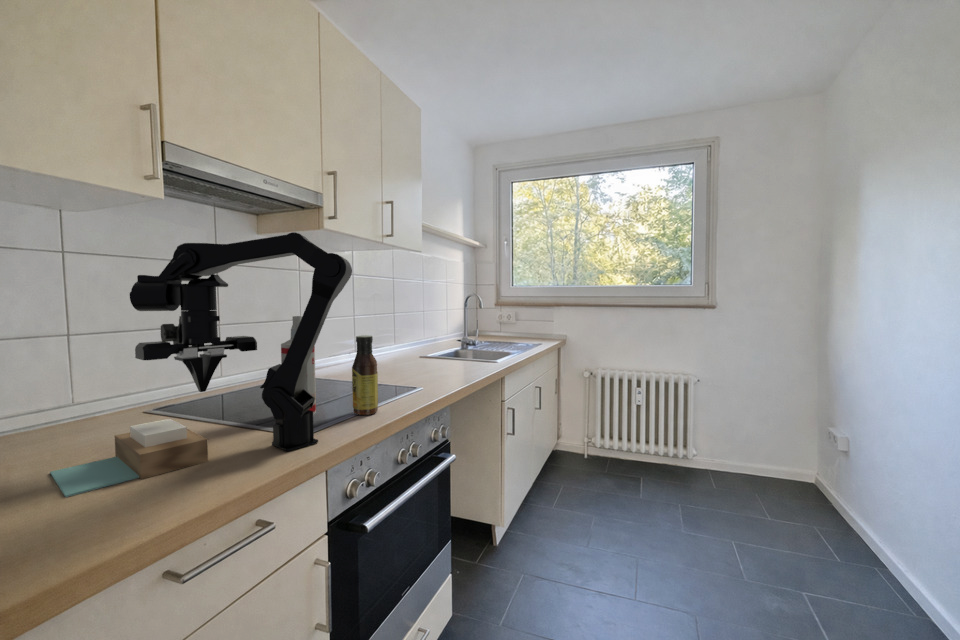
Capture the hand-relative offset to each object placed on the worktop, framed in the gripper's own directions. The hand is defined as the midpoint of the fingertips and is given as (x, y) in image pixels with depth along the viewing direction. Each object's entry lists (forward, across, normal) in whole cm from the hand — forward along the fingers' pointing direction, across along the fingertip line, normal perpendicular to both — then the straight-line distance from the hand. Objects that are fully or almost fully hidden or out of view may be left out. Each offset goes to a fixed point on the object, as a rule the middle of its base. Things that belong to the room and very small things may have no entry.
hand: (202, 391), depth 80 cm
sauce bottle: (+12, -35, +4) cm, 37 cm away
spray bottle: (+11, -24, -8) cm, 28 cm away
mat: (+11, +16, 0) cm, 19 cm away
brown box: (+11, +7, 0) cm, 13 cm away
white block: (+7, +7, 0) cm, 10 cm away
